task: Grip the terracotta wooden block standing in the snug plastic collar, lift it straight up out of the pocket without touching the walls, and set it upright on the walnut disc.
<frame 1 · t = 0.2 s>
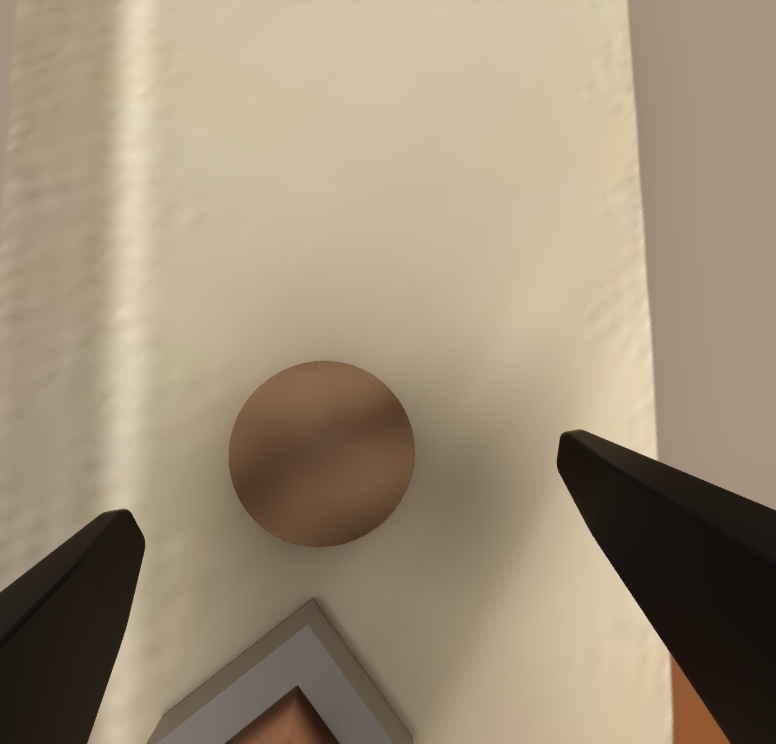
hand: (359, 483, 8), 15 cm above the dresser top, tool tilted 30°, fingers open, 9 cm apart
collar: (290, 726, 21), on the dresser top
pad: (324, 450, 22), on the dresser top
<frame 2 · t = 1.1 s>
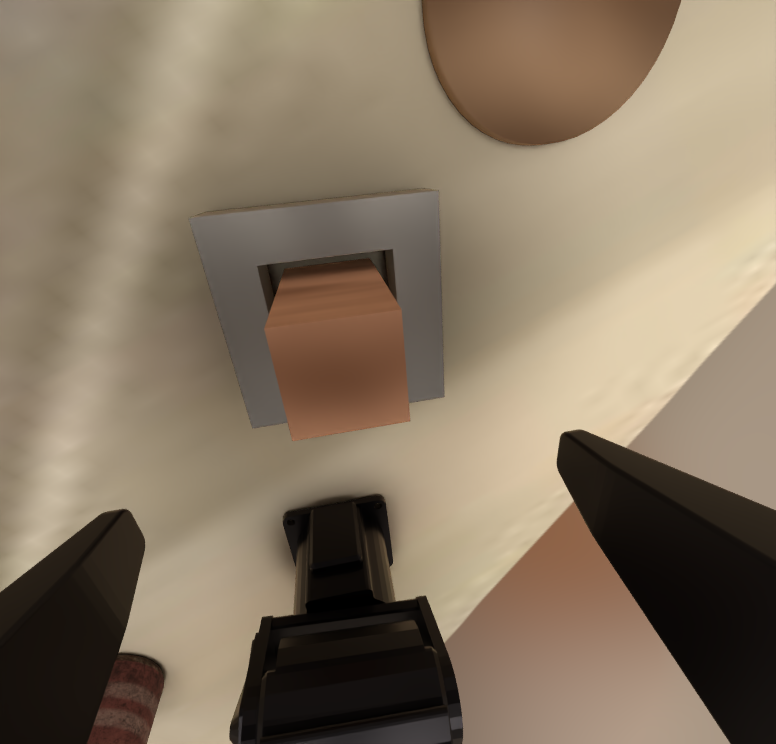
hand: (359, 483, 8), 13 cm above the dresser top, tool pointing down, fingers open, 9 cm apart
collar: (334, 304, 19), on the dresser top
can: (121, 672, 30), on the dresser top
block: (337, 333, 16), in the collar
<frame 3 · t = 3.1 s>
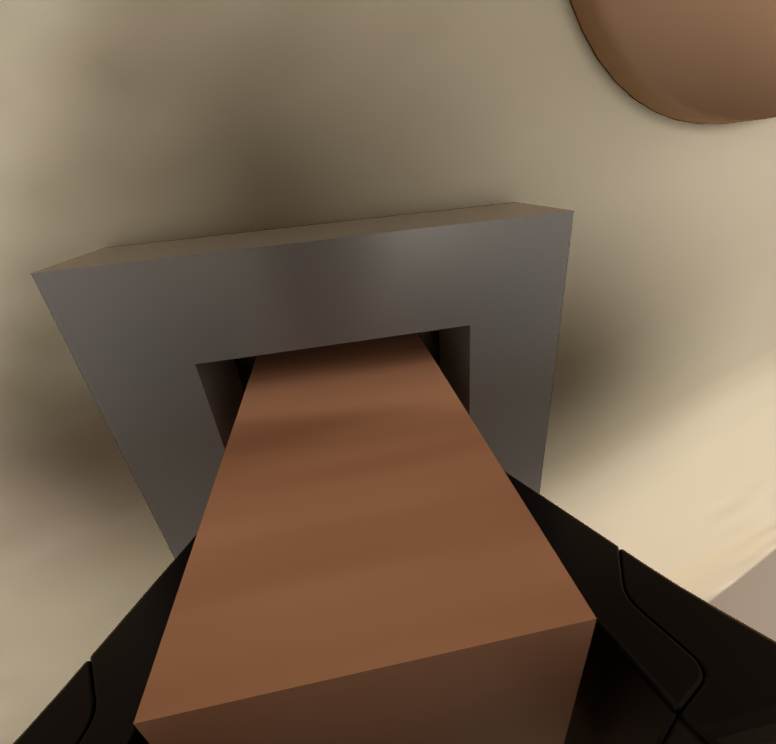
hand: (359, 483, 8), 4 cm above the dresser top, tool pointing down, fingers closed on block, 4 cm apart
collar: (347, 398, 11), on the dresser top
block: (361, 499, 8), in the collar, touching gripper
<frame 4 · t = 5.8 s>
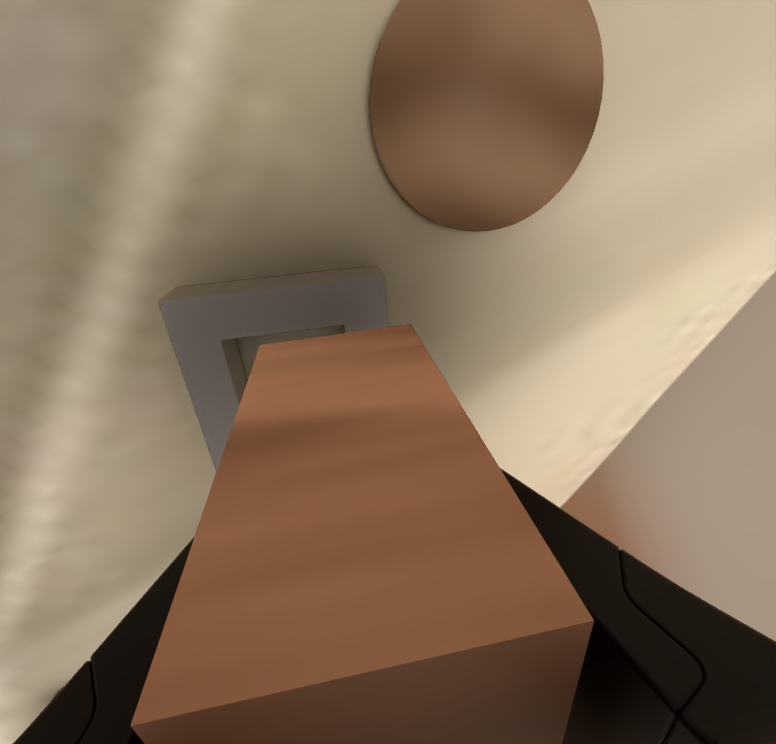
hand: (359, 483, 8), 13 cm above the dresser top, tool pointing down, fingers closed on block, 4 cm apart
collar: (296, 364, 21), on the dresser top
pad: (482, 108, 17), on the dresser top
block: (359, 500, 8), point 14 cm above the dresser top, touching gripper
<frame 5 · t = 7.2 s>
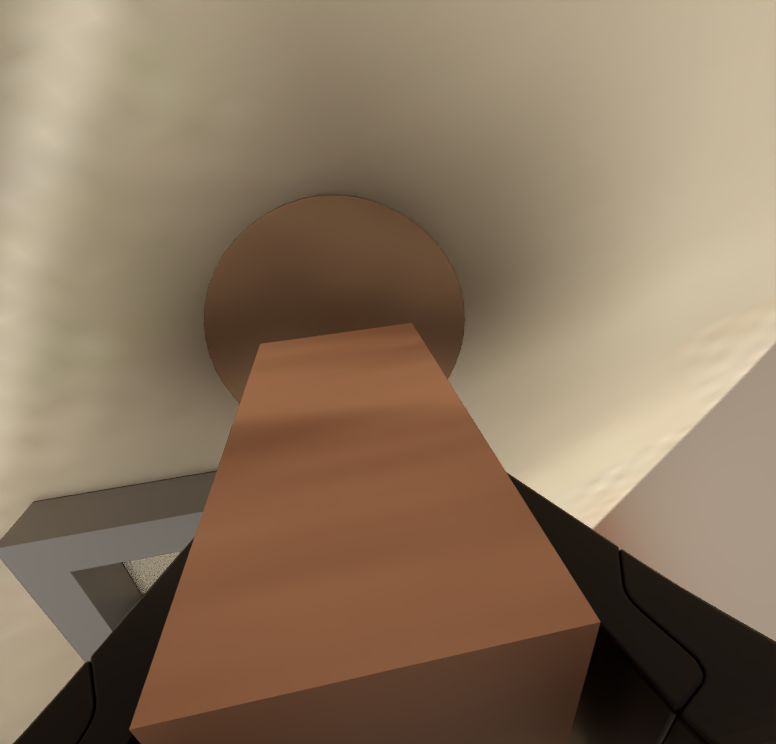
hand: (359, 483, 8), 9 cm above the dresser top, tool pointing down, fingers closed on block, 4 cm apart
collar: (177, 552, 20), on the dresser top
pad: (340, 327, 16), on the dresser top
block: (361, 499, 8), point 10 cm above the dresser top, touching gripper
when the fingers open (6 cm above the dresser top, at t = 8.5 s): block drops 1 cm, resting on pad.
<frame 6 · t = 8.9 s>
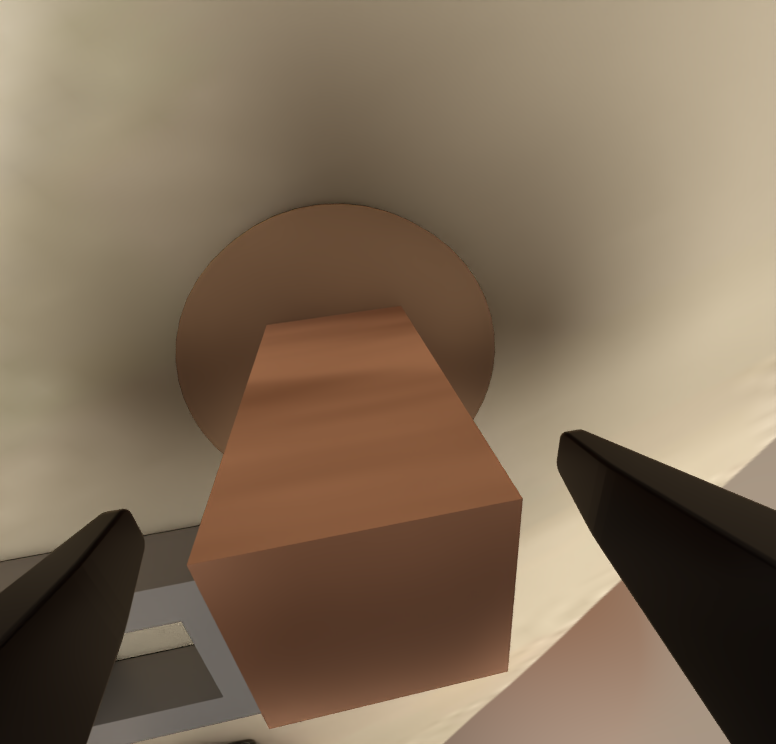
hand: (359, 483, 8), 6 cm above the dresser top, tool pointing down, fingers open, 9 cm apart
collar: (155, 614, 18), on the dresser top
pad: (343, 361, 14), on the dresser top
block: (355, 452, 9), on the pad, point 5 cm above the dresser top
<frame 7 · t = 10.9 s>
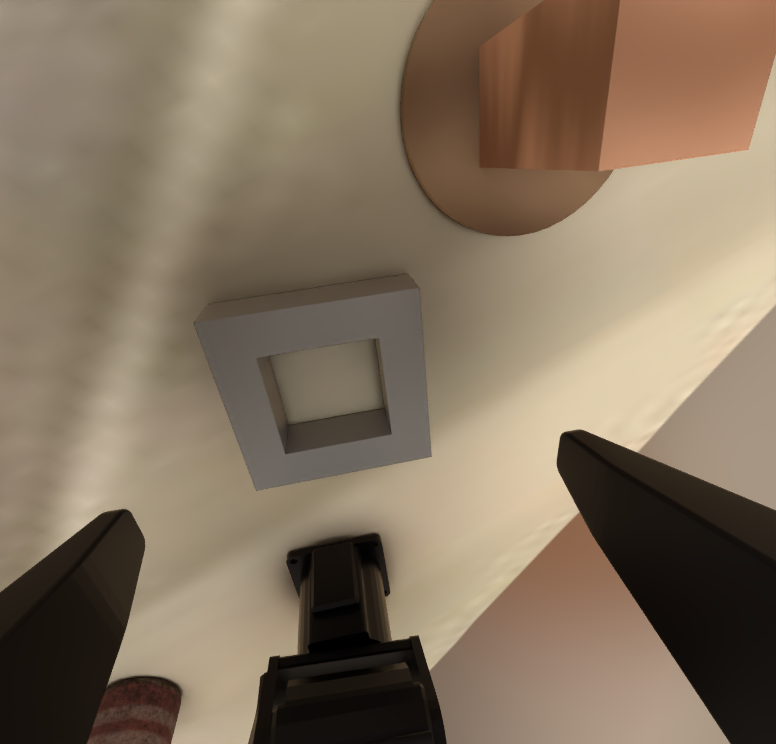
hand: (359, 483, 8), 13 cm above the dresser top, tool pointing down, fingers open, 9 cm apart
collar: (328, 374, 21), on the dresser top
can: (141, 692, 32), on the dresser top
pad: (517, 108, 17), on the dresser top
block: (587, 88, 12), on the pad, point 5 cm above the dresser top
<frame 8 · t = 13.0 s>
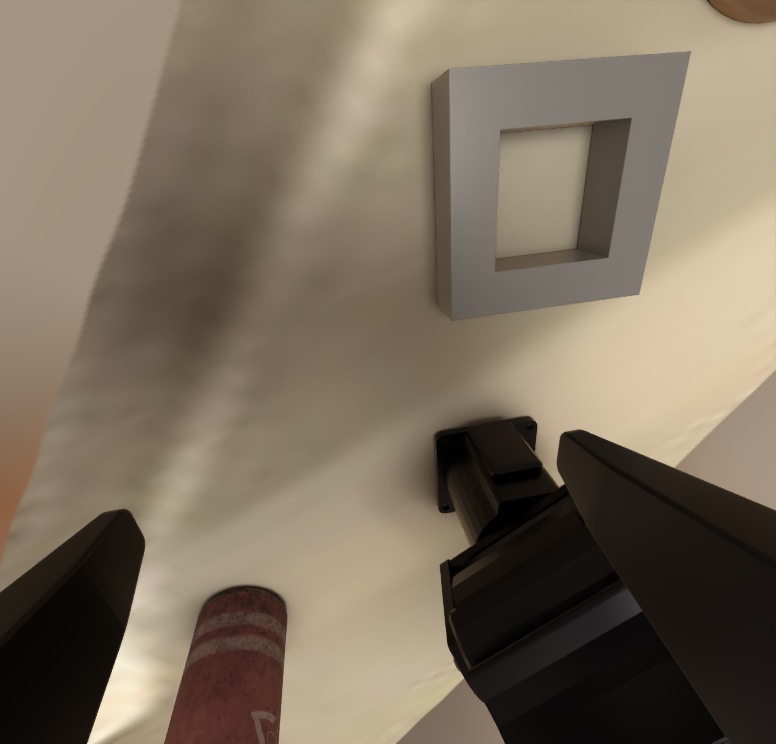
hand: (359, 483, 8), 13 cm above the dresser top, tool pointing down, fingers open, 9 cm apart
collar: (531, 196, 19), on the dresser top
can: (243, 608, 29), on the dresser top
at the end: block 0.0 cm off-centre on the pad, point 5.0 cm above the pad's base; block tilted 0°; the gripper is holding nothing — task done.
